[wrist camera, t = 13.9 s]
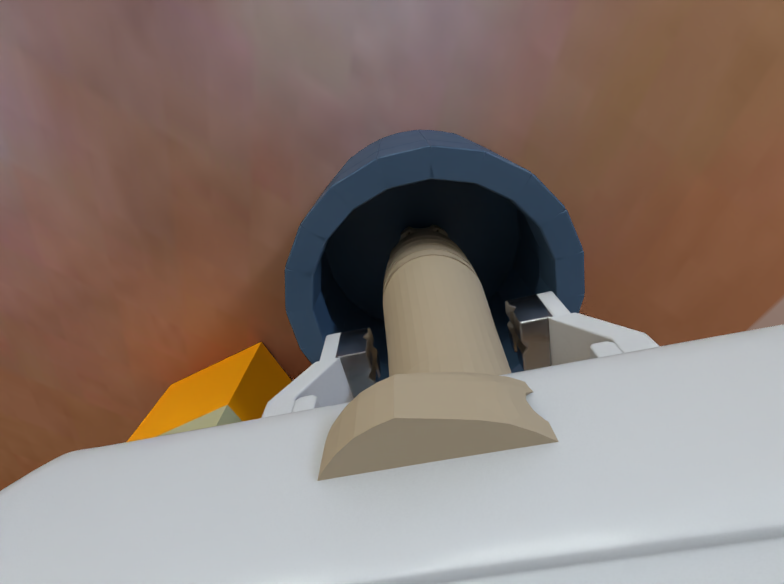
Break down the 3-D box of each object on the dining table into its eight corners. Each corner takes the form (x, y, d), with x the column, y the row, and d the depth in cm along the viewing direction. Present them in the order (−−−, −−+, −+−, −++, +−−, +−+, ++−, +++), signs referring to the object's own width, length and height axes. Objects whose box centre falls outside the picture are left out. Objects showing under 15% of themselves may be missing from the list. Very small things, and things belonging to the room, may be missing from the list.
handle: (451, 312, 23) (542, 631, 9) (346, 262, 21) (272, 550, 8) (500, 239, 21) (704, 502, 7) (389, 180, 19) (386, 369, 6)
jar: (290, 158, 21) (238, 190, 14) (513, 105, 20) (581, 109, 13) (348, 342, 26) (332, 436, 19) (530, 307, 25) (587, 392, 18)
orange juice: (246, 467, 31) (41, 986, 13) (168, 384, 27) (-259, 932, 9) (334, 431, 29) (243, 965, 11) (263, 339, 26) (-29, 890, 8)
